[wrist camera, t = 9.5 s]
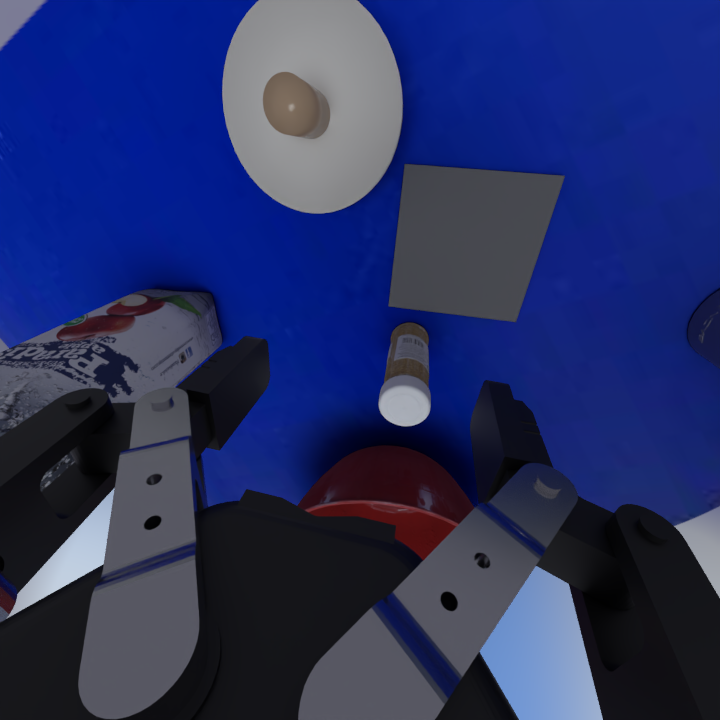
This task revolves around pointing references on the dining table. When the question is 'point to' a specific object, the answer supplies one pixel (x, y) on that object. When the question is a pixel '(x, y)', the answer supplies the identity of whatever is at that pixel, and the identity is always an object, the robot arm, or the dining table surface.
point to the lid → (312, 101)
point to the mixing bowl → (393, 494)
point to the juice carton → (109, 355)
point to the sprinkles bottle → (406, 377)
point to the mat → (469, 239)
